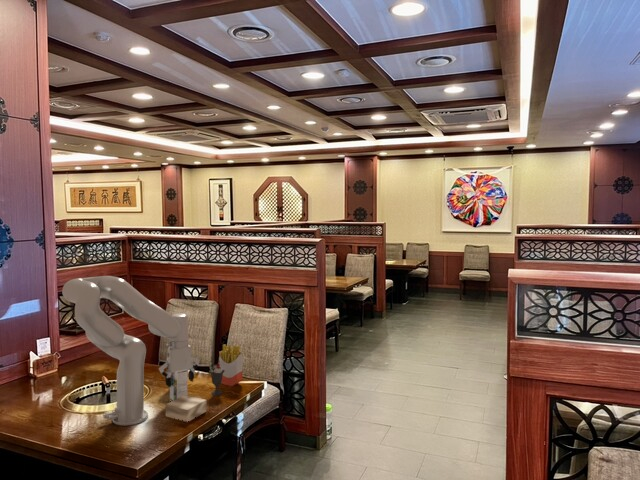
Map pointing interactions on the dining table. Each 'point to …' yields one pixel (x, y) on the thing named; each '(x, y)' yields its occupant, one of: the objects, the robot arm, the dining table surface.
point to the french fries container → (231, 364)
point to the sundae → (217, 377)
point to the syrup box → (178, 384)
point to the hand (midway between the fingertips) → (180, 383)
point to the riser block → (186, 408)
